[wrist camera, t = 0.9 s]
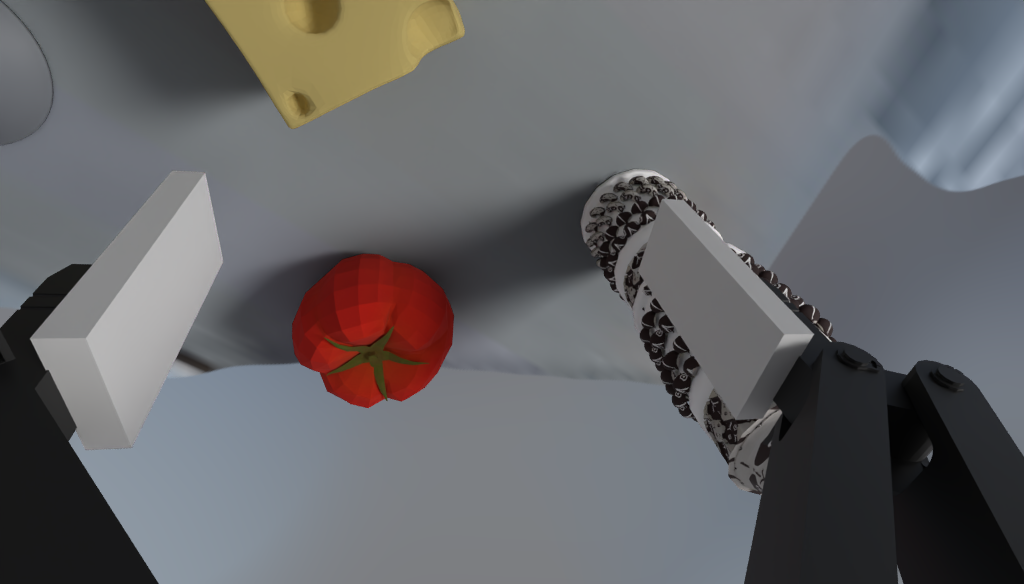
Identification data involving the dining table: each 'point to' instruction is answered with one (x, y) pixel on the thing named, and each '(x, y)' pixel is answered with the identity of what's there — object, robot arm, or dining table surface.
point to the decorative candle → (621, 245)
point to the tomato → (373, 329)
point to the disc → (21, 80)
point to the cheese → (333, 46)
